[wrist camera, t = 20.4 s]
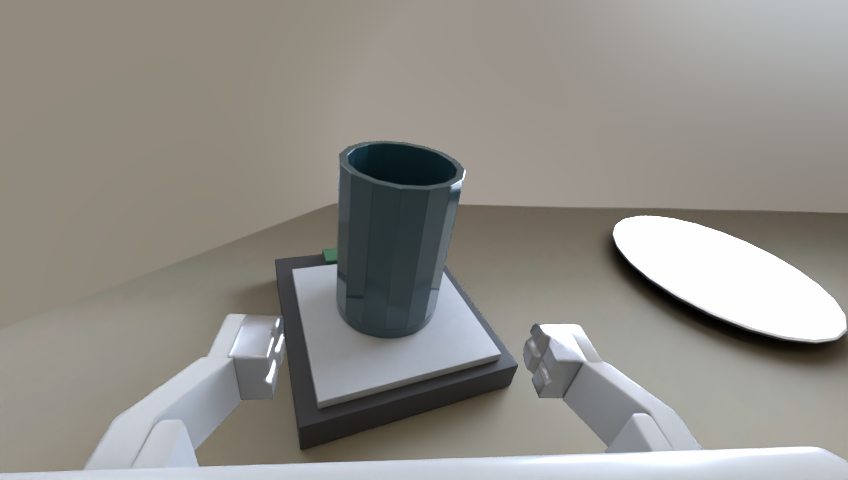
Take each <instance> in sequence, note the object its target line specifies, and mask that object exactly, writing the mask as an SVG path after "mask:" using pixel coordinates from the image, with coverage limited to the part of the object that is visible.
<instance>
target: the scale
mask: <svg viewBox="0 0 848 480" xmlns="http://www.w3.org/2000/svg"><path fill="white" fill-rule="evenodd" d="M336 261H337V248H333V249H323V250H322V254H320V255H311V256H302V257H293V258H283V259H275V265H276V276H277V285H278V292H279V299H280V306H281V314H282V317H283V322H284V326H283V328H284V335H285V342H286V350H287V357H288V364H289V371H290V378H291V386H292V393H293V400H294V407H295V415H296V422H297V429H298V436H299V443H300V449H301V450H303V449H306V448H309V447H312V446H316V445H319V444H322V443H325V442H329V441H332V440H335V439H338V438H341V437H345V436H348V435H351V434H354V433H358V432H361V431H364V430H367V429H370V428H374V427H377V426H380V425H383V424H386V423H390V422H393V421H396V420H399V419H403V418H406V417H409V416H412V415H415V414H419V413H422V412H425V411H428V410H432V409H435V408H438V407H441V406H444V405H448V404H451V403H454V402H457V401H461V400H464V399H467V398H470V397H473V396H477V395H480V394H483V393H486V392H489V391H493V390H496V389H499V388H502V387H506V386H509V385H510V384H511V381H512V379H513V376H514V374H515V372H516V369H517V367H518V364H517V363H516V361H515V360H514V359H513V357H512V356H511V355H510V353H509V352H508V350H507V349H506V348H505V346H504V345H503V344H502V342H501V341H500V339H499V338H498V337H497V335H496V334H495V333H494V331H493V330H492V328H491V327H490V326H489V324H488V323H487V322H486V320H485V319H484V317H483V316H482V315H481V313H480V312H479V311H478V309H477V308H476V306H475V305H474V304H473V302H472V301H471V300H470V298H469V297H468V295H467V294H466V293H465V291H464V290H463V289H462V287H461V286H460V284H459V283H458V282H457V280H456V279H455V278H454V276H453V275H452V273H451V272H450V271H449V269H448V268H447V267H446V265H445V267H444V271H443V276H442V280H441V285H440V290H439V294H438V299H437V303H436V308H435V312H434V315H433V317H432V319H431V321H430V322H429V323H428V324H427V325H426V326H425V327H424V328H423V329H421V330H420V331H418V332H416V333H414V334H411V335H409V336H405V337H401V338H378V337H372V336H369V335H366V334H363V333H361V332H359V331H357V330H355V329H353V328H352V327H350V326H349V325H348V324H347V323H346V322H345V321H344V320H343V319H342V318H341V316H340V314H339V312H338V310H337V307H336Z"/></svg>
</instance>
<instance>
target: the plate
mask: <svg viewBox="0 0 848 480" xmlns="http://www.w3.org/2000/svg"><path fill="white" fill-rule="evenodd" d="M613 238H614V241H615V244H616V247H617V249H618V250H619V251H620V253H621V254H622V255H623V257H624V258H625V259H626V260H627V262H628V263H629V264H630V265H631V266H632V267H633V268H635V269H636V270H637V271H638V272H639V273H640V274H642V275H643V276H644V277H645V278H646V279H647V280H648V281H650V282H651V283H653V284H654V285H656V286H657V287H659V288H661V289H662V290H664V291H665V292H667V293H668V294H670V295H671V296H673V297H674V298H676V299H678V300H679V301H681V302H683V303H685V304H687V305H689V306H691V307H693V308H695V309H697V310H699V311H701V312H703V313H704V314H706V315H708V316H711V317H713V318H716V319H718V320H721V321H723V322H726V323H728V324H731V325H733V326H736V327H738V328H741V329H743V330H746V331H749V332H753V333H757V334H760V335H764V336H767V337H771V338H775V339H778V340H783V341H792V342H800V343H809V344H818V343H825V342H832V341H836V340H838V339H839V338H840V337H841V336H842V335H843V334H844V333H845V332H846V331H847V321H846V316H845V314H844V313H843V311H842V310H841V309H840V307H839V306H838V304H837V303H836V301H835V300H834V299H833V298H832V297H831V296H830V295H829V294H828V293H827V292H826V291H824V290H823V289H822V288H821V287H820V286H819V285H818V284H817V283H815V282H814V281H813V280H811V279H810V278H808V277H807V276H805V275H804V274H803V273H801V272H800V271H798V270H797V269H796V268H794V267H792V266H790V265H789V264H787V263H785V262H784V261H782V260H780V259H778V258H777V257H775V256H773V255H771V254H769V253H767V252H765V251H763V250H761V249H759V248H757V247H755V246H753V245H751V244H749V243H747V242H744V241H742V240H739V239H737V238H734V237H732V236H729V235H727V234H724V233H722V232H719V231H716V230H713V229H710V228H707V227H703V226H700V225H697V224H693V223H689V222H685V221H681V220H676V219H671V218H664V217H656V216H637V217H632V218H628V219H624V220H622V221H621V222H619V223H618V224H617V225H615V228H614V232H613Z"/></svg>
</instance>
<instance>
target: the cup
mask: <svg viewBox="0 0 848 480" xmlns="http://www.w3.org/2000/svg"><path fill="white" fill-rule="evenodd" d="M464 175H465V170H464V168H463V167H462V166H461V164H460V163H459V162H458V161H457V160H455V159H453V158H452V157H450V156H448V155H447V154H445V153H443V152H440V151H437V150H434V149H431V148H428V147H425V146H420V145H415V144H410V143H404V142H392V141H376V142H362V143H359V144H355V145H352V146H349V147H347V148H346V149H344V150H343V151H342V152H341V153H340V154H339V175H338V218H337V261H336V307H337V310H338V312H339V314H340V316H341V318H342V319H343V320H344V321H345V322H346V323H347V324H348V325H349V326H350V327H352V328H353V329H355V330H357V331H359V332H361V333H363V334H366V335H369V336H372V337H378V338H401V337H405V336H409V335H411V334H414V333H416V332H418V331H420V330H421V329H423V328H424V327H425V326H426V325H427V324H428V323H429V322H430V321H431V319H432V317H433V315H434V312H435V308H436V303H437V299H438V294H439V290H440V285H441V280H442V276H443V271H444V267H445V262H446V257H447V253H448V248H449V244H450V239H451V234H452V230H453V225H454V221H455V216H456V211H457V207H458V202H459V197H460V193H461V188H462V184H463V179H464Z"/></svg>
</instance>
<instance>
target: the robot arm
mask: <svg viewBox="0 0 848 480" xmlns="http://www.w3.org/2000/svg"><path fill="white" fill-rule="evenodd" d="M283 326H284V322H283V317H282V316H270V315H251V314H247V315H245V314H229V315H228V316H226V317H225V319H224V321H223V323H222V325H221V328H220V330H219V332H218V334H217V336H216V338H215V340H214V342H213V344H212V346H211V348H210V350H209V352H208V354H207V356H206V358H199V359H198V360H196V361H195V362H193V363H192V364H191V365H189V366H188V367H186V368H185V369H184V370H182V371H181V372H179V373H178V374H177V375H175V376H174V377H172V378H171V379H170V380H168V381H167V382H165V383H164V384H162V385H161V386H160V387H158V388H157V389H155V390H154V391H153V392H151V393H150V394H148V395H147V396H146V397H144V398H143V399H141V400H140V401H139V402H137V403H136V404H134V405H133V406H132V407H130V408H129V409H127V410H126V411H125V412H123V413H122V414H120V415H119V416H118V417H116V418H115V419H114V420H113V422H112V423H111V425H110V426H109V428H108V429H107V431H106V433H105V434H104V436H103V437H102V439H101V440H100V442H99V444H98V445H97V447H96V448H95V450H94V451H93V453H92V455H91V456H90V458H89V459H88V461H87V462H86V464H85V466H84V467H83V469H82V470H81V471H53V472H22V473H0V480H848V462H847V461H845V460H844V459H842V458H840V457H838V456H836V455H834V454H833V453H831V452H829V451H827V450H824V449H821V448H817V447H780V448H751V449H721V450H703V449H702V447H701V446H700V445H699V443H698V442H697V441H696V439H695V438H694V436H693V435H692V434H691V432H690V431H689V429H688V428H687V427H686V425H685V424H684V422H683V421H682V420H681V418H680V417H679V416H678V414H677V413H676V412H675V411H674V410H672V409H671V408H670V407H668V406H667V405H665V404H664V403H663V402H661V401H660V400H658V399H657V398H656V397H654V396H653V395H651V394H650V393H649V392H647V391H646V390H645V389H643V388H642V387H640V386H639V385H638V384H636V383H635V382H633V381H632V380H631V379H629V378H628V377H626V376H625V375H624V374H622V373H621V372H619V371H618V370H617V369H615V368H614V367H612V366H611V365H610V364H608V363H606V362H602V360H601V359H600V357H599V355H598V354H597V352H596V351H595V349H594V347H593V346H592V344H591V343H590V341H589V339H588V338H587V336H586V335H585V333H584V331H583V330H582V328H581V327H580V326H579V325H577V324H535V325H533V326H532V329H531V331H530V332H531V335H532V337H531V338H529V339H528V340H527V341H526V343H525V346H524V353H523V356H524V362H525V364H526V367H527V369H528V370H529V371H530V372H532V373H533V374H534V375H533V378H532V382H533V384H534V387H535V389H536V392H537V394H538V397H539V398H563V400H564V401H565V402H566V403H567V404H568V406H569V407H570V408H571V409H572V410H573V411H574V412H575V413H576V414H577V415H578V416H579V417H580V418H581V419H582V420H583V421H584V422H585V423H586V424H587V425H588V426H589V427H590V428H591V429H592V430H593V431H594V432H595V433H596V434H597V435H598V437H599V438H600V439H601V440H602V441H603V442H604V443H605V444H606V445H607V446H608V448H607V449H606V451H605V452H604V453H600V454H569V455H539V456H510V457H480V458H450V459H420V460H390V461H359V462H329V463H298V464H268V465H237V466H207V467H199V464H198V462H197V459H196V456H195V453H194V451H195V450H196V449H197V448H198V447H199V446H200V445H201V444H202V443H203V442H204V441H205V440H206V439H207V438H208V437H209V435H210V434H211V433H212V432H213V431H214V430H215V429H216V428H217V427H218V426H219V425H220V424H221V423H222V422H223V421H224V420H225V419H226V418H227V417H228V416H229V414H230V413H231V412H232V411H233V410H234V409H235V408H236V407H237V406H238V405H239V404H240V403H241V400H262V399H273V395H274V392H275V388H276V384H277V381H278V375H277V370H278V369H279V368H280V367H281V366H282V362H283V357H284V350H285V335H284V334H282V330H283Z"/></svg>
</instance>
